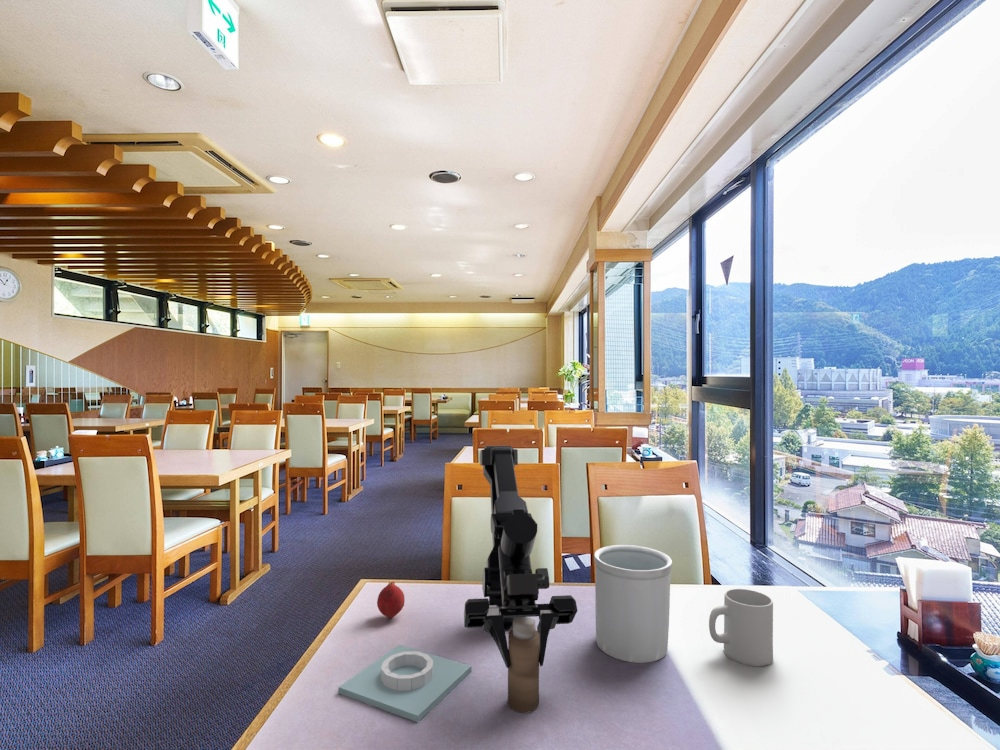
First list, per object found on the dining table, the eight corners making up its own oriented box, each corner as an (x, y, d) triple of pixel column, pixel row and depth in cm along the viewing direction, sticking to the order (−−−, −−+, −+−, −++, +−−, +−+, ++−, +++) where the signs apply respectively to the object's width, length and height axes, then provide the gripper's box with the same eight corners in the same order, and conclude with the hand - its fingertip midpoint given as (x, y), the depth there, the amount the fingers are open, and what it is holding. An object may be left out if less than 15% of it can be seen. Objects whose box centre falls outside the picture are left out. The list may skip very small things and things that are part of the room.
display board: (398, 649, 103) (399, 634, 103) (471, 671, 95) (471, 654, 95) (338, 693, 89) (338, 674, 89) (417, 722, 81) (418, 702, 81)
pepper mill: (515, 690, 90) (516, 612, 90) (543, 699, 87) (544, 619, 88) (502, 706, 85) (503, 624, 85) (531, 716, 83) (531, 631, 83)
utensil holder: (682, 666, 98) (683, 570, 98) (601, 665, 98) (602, 569, 98) (658, 628, 113) (658, 544, 113) (587, 627, 113) (588, 544, 113)
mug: (755, 642, 107) (755, 587, 107) (783, 665, 99) (783, 605, 99) (698, 645, 106) (698, 589, 106) (721, 669, 97) (722, 608, 97)
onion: (398, 625, 113) (398, 587, 113) (372, 622, 114) (372, 585, 114) (408, 613, 118) (408, 577, 119) (383, 611, 120) (384, 575, 120)
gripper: (465, 551, 89) (468, 651, 78) (575, 548, 91) (593, 645, 80) (462, 580, 97) (465, 675, 86) (563, 577, 99) (578, 669, 88)
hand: (525, 666), depth 85 cm, fingers closed on pepper mill, 5 cm apart
